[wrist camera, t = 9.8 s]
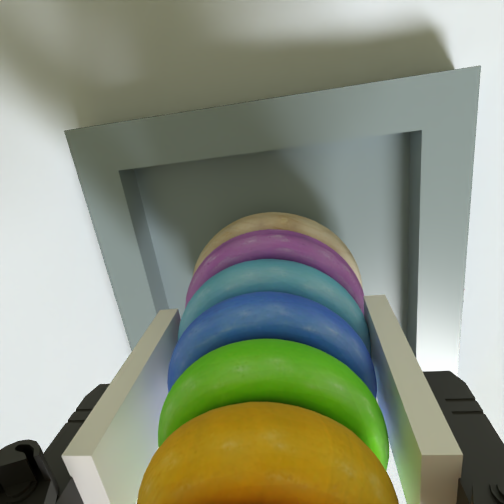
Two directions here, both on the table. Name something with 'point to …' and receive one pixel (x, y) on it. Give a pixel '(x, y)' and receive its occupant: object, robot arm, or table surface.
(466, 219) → the gray square tray
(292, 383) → the stacking toy
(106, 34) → the table surface
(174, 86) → the table surface
